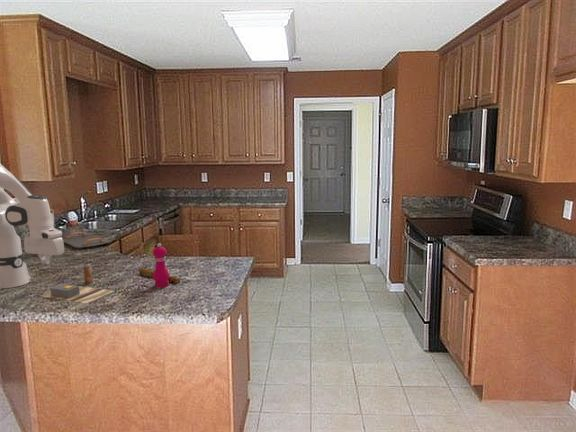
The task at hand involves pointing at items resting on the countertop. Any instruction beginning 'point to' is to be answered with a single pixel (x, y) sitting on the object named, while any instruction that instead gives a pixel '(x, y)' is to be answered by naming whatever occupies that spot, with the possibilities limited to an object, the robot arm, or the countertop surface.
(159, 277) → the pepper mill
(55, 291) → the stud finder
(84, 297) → the subfloor panel
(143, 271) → the tap handle
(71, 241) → the serving board
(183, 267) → the countertop surface
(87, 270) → the awl
